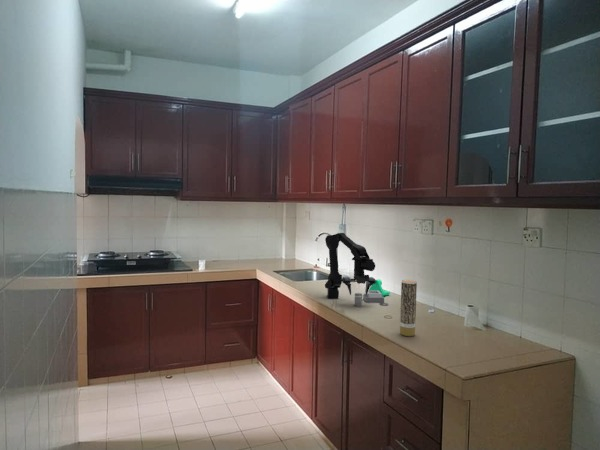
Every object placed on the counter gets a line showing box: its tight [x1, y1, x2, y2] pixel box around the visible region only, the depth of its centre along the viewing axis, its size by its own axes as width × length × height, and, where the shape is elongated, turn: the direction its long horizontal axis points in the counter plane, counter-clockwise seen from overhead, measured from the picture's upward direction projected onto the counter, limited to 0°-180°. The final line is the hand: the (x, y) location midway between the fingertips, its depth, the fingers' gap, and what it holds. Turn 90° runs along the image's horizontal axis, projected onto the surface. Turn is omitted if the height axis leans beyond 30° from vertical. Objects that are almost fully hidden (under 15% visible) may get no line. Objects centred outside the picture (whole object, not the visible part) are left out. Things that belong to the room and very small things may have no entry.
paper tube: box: [399, 279, 418, 337], centre depth 187 cm, size 7×7×25 cm
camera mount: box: [368, 279, 391, 297], centre depth 266 cm, size 12×8×10 cm, turn 35°
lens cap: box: [379, 302, 389, 307], centre depth 240 cm, size 5×5×1 cm
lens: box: [353, 292, 363, 308], centre depth 237 cm, size 5×5×7 cm
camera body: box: [362, 290, 385, 304], centre depth 248 cm, size 11×8×6 cm
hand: (358, 294), depth 236 cm, fingers open, 9 cm apart
